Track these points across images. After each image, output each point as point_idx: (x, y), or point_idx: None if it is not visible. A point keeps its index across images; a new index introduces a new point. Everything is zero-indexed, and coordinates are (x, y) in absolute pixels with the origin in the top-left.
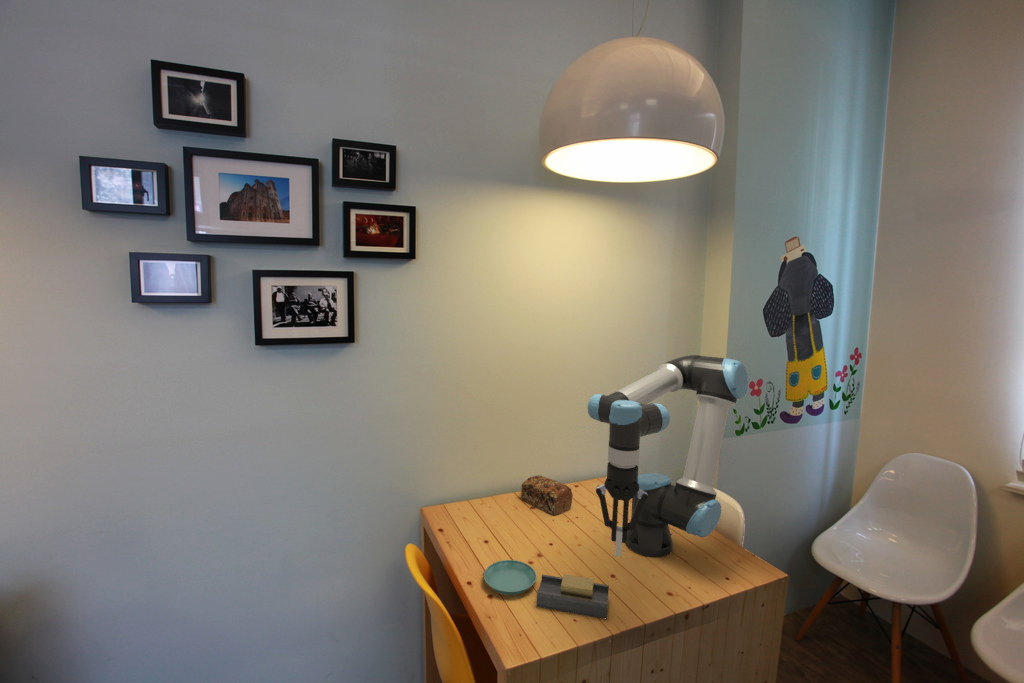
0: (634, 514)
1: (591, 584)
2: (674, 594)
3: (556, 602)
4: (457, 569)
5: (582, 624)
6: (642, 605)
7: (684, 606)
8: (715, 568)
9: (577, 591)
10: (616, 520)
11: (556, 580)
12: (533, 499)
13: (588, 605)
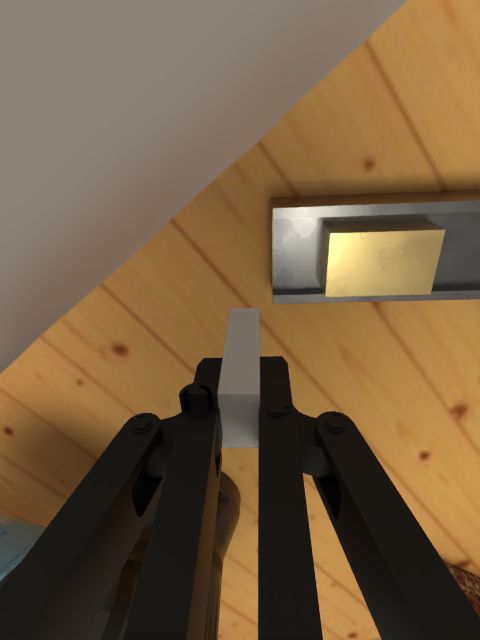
0: (88, 535)
1: (333, 265)
2: (108, 350)
3: (438, 197)
4: None
5: (345, 150)
6: (180, 287)
7: (79, 313)
8: (37, 455)
9: (379, 228)
10: (264, 460)
11: (438, 288)
12: (470, 587)
13: (334, 203)
